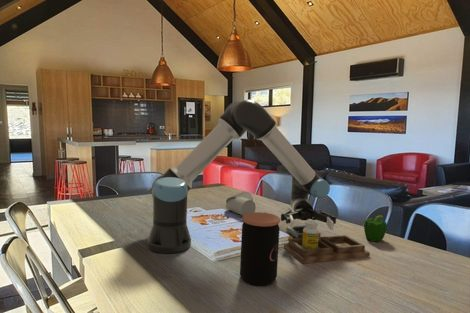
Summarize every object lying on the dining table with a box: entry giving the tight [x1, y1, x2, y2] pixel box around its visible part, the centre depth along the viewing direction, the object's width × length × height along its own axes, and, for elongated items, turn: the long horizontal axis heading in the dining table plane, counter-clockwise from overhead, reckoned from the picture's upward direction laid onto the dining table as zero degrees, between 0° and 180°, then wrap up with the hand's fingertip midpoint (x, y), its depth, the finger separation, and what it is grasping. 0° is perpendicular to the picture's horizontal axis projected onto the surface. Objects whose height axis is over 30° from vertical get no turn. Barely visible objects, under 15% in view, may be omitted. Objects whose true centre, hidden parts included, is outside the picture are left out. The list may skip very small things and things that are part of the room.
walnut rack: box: [283, 234, 371, 264], centre depth 115 cm, size 26×14×4 cm, turn 108°
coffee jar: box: [239, 211, 281, 287], centre depth 93 cm, size 11×11×18 cm
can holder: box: [285, 225, 322, 239], centre depth 133 cm, size 10×10×2 cm
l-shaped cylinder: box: [225, 190, 257, 217], centre depth 164 cm, size 18×11×20 cm
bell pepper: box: [363, 215, 388, 243], centre depth 130 cm, size 8×8×10 cm
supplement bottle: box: [302, 220, 320, 250], centre depth 113 cm, size 5×5×10 cm
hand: (312, 225), depth 113 cm, fingers open, 13 cm apart
